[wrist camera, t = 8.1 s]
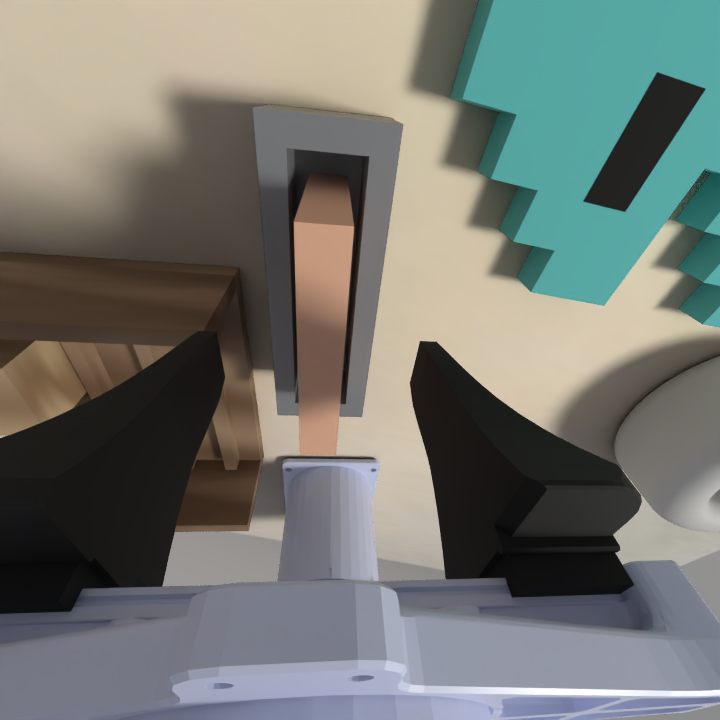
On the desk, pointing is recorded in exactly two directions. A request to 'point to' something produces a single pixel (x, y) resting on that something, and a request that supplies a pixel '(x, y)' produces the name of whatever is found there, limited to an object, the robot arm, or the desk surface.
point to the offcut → (35, 383)
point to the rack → (149, 353)
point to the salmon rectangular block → (322, 306)
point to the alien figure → (601, 135)
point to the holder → (371, 223)
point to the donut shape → (677, 448)
